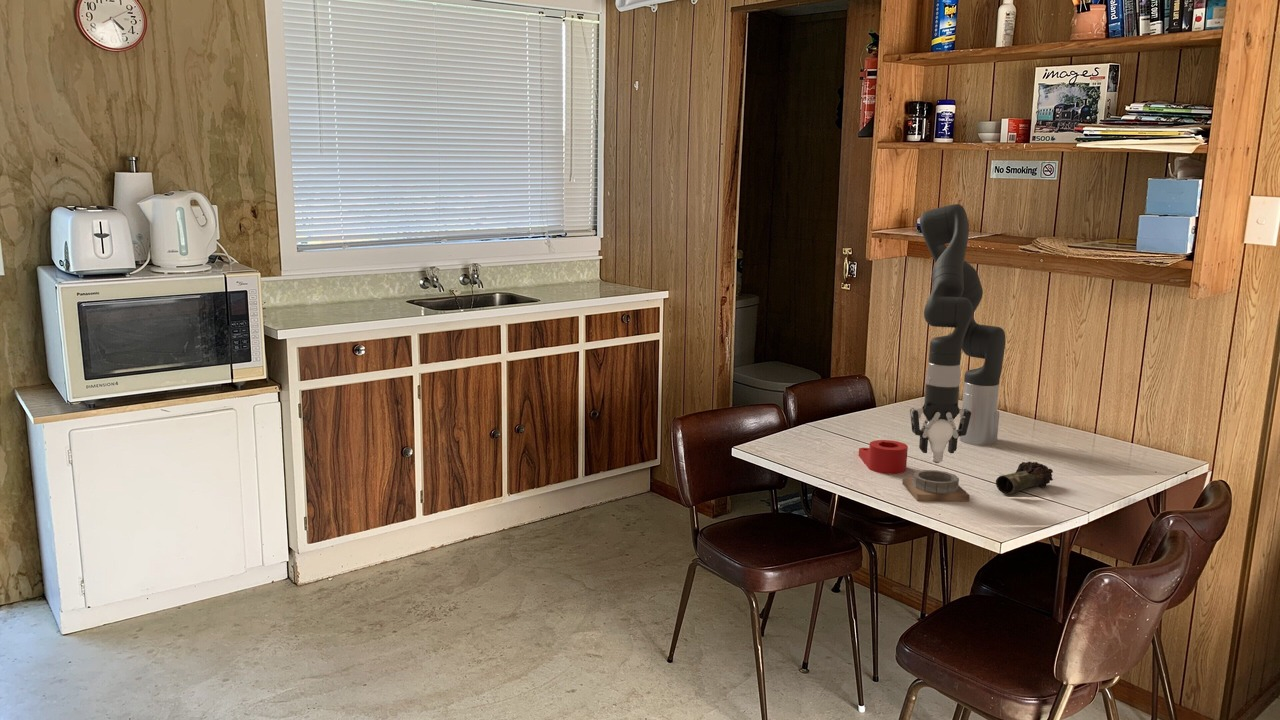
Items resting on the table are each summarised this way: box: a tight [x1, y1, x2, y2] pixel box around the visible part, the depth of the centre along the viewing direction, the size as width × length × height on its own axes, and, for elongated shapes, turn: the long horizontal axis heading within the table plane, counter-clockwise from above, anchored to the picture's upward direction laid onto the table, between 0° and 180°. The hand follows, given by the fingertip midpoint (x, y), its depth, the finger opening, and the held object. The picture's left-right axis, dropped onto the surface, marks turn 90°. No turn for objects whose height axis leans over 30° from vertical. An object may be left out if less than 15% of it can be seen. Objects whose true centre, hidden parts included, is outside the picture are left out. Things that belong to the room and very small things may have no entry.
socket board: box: [901, 469, 970, 502], centre depth 228 cm, size 12×12×4 cm
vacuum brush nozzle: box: [995, 461, 1054, 496], centre depth 231 cm, size 18×7×6 cm, turn 125°
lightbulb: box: [927, 419, 953, 464], centre depth 226 cm, size 6×6×11 cm
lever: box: [858, 439, 909, 475], centre depth 250 cm, size 18×9×7 cm, turn 15°
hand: (937, 452), depth 227 cm, fingers closed on lightbulb, 5 cm apart
